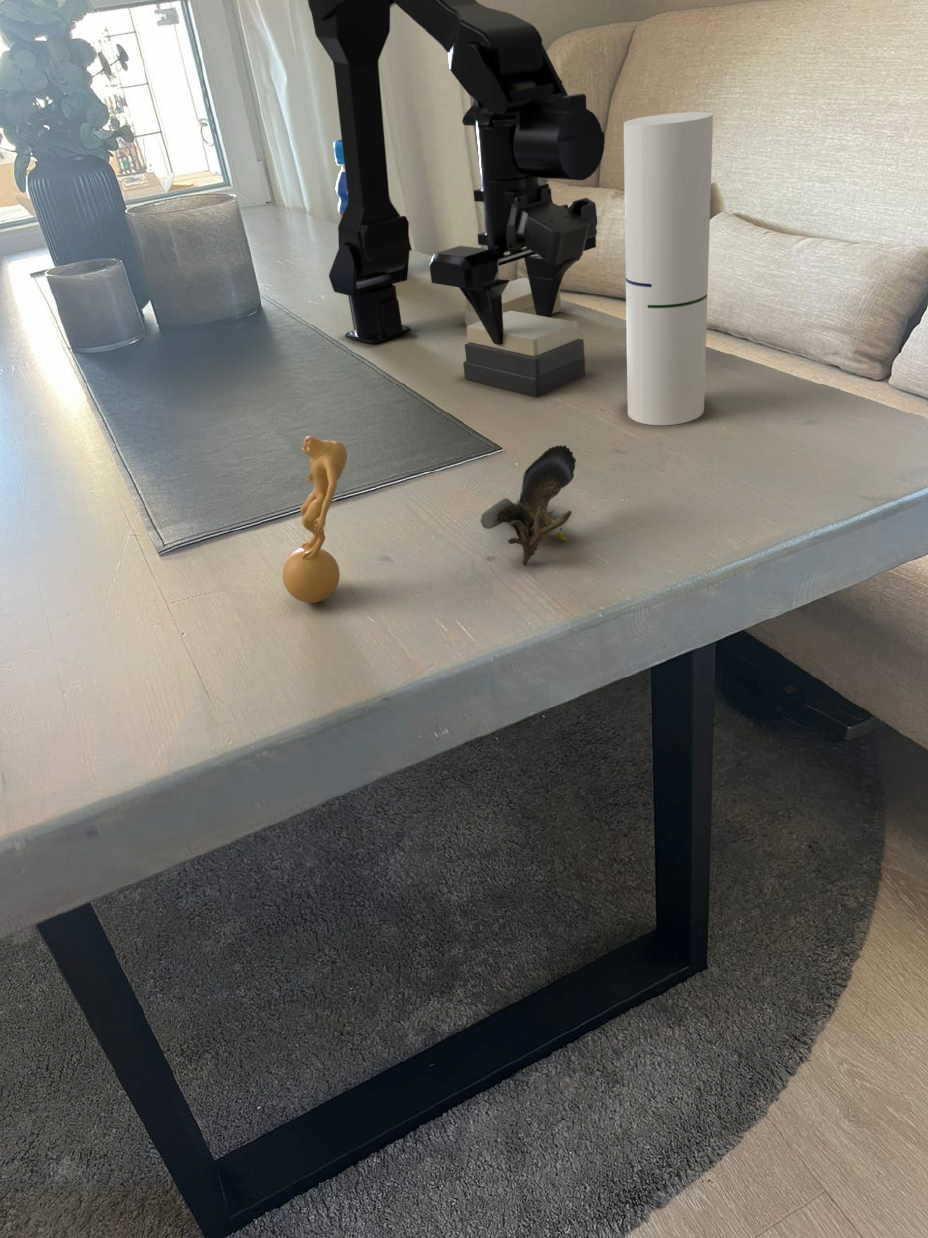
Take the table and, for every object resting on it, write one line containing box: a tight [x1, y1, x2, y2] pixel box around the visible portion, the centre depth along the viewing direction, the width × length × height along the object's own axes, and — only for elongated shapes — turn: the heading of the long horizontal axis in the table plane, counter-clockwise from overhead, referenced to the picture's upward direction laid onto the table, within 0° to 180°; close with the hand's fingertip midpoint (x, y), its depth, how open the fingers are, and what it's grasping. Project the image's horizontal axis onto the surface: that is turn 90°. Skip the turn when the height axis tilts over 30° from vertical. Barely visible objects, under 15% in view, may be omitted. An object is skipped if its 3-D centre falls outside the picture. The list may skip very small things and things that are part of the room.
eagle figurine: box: [479, 444, 577, 566], centre depth 70 cm, size 8×7×9 cm
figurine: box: [282, 435, 348, 604], centre depth 64 cm, size 8×6×12 cm
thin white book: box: [466, 311, 579, 356], centre depth 100 cm, size 10×7×2 cm, turn 42°
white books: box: [464, 277, 562, 326], centre depth 122 cm, size 11×7×4 cm
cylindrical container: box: [623, 111, 714, 426], centre depth 83 cm, size 7×7×25 cm
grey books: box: [462, 337, 586, 398], centre depth 101 cm, size 11×8×4 cm
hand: (521, 335), depth 100 cm, fingers closed on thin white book, 7 cm apart
